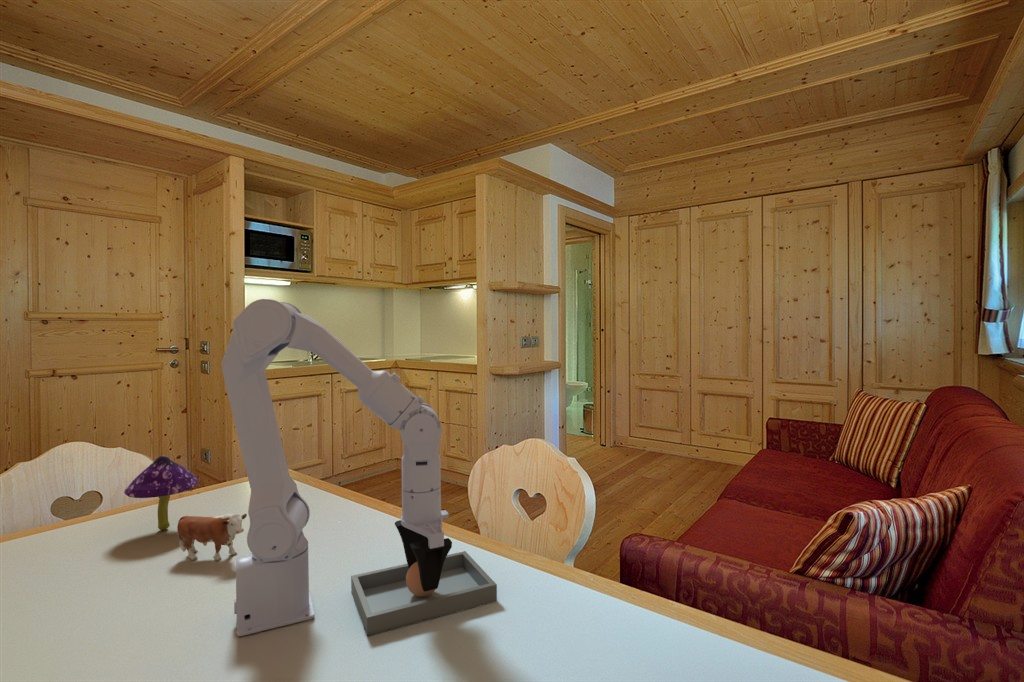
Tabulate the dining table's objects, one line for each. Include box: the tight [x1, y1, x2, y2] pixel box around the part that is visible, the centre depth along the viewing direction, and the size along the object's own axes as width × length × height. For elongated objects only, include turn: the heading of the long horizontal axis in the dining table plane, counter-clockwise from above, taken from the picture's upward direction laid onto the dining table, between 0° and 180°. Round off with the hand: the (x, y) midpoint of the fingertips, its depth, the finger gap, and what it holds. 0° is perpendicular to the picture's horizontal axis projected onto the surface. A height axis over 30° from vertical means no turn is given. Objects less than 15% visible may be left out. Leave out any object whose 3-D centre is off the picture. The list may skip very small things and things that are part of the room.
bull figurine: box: [176, 513, 248, 562], centre depth 90 cm, size 4×13×8 cm, turn 78°
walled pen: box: [350, 550, 498, 637], centre depth 76 cm, size 19×13×2 cm
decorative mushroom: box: [123, 455, 200, 531], centre depth 102 cm, size 12×12×15 cm
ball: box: [406, 562, 436, 597], centre depth 76 cm, size 5×5×5 cm
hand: (422, 577), depth 76 cm, fingers open, 7 cm apart
